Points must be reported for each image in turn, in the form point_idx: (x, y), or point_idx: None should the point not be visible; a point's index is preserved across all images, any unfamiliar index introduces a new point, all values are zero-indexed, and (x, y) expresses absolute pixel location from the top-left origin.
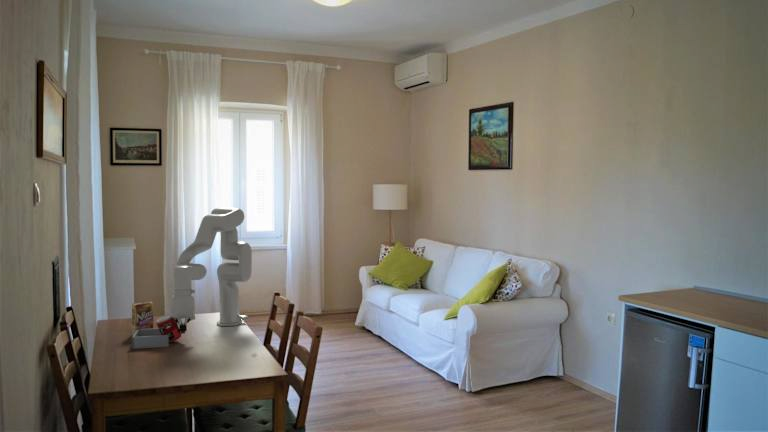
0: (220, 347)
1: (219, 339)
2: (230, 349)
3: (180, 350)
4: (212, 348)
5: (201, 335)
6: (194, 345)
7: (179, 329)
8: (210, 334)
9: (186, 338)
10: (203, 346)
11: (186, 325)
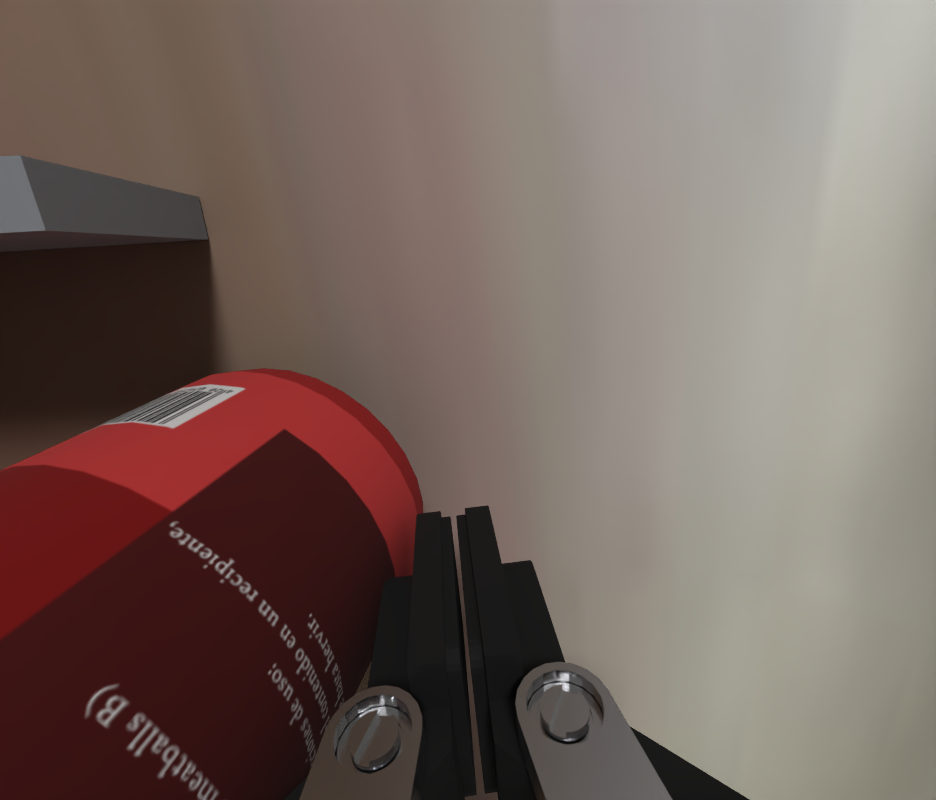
0: (858, 729)
1: (931, 430)
2: (924, 786)
3: (476, 782)
4: (780, 751)
5: (719, 101)
6: (608, 644)
7: (376, 594)
8: (882, 52)
9: (472, 280)
10: (702, 686)
11: (559, 650)
